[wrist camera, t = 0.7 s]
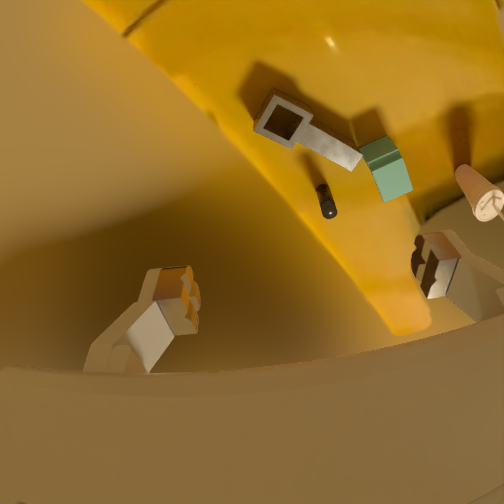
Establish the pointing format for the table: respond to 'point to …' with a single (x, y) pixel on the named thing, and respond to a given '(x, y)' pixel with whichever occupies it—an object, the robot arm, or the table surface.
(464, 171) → the smoothie
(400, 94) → the table surface
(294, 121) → the link
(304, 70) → the table surface
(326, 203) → the pintle
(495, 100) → the table surface
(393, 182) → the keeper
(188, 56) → the table surface
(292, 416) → the robot arm
